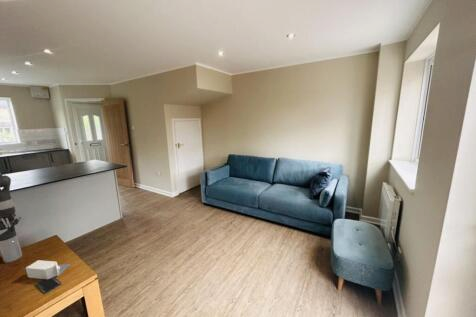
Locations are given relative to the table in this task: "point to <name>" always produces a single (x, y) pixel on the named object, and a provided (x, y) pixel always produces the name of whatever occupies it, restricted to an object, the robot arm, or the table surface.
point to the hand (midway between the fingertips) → (12, 231)
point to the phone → (48, 284)
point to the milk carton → (43, 269)
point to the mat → (63, 268)
